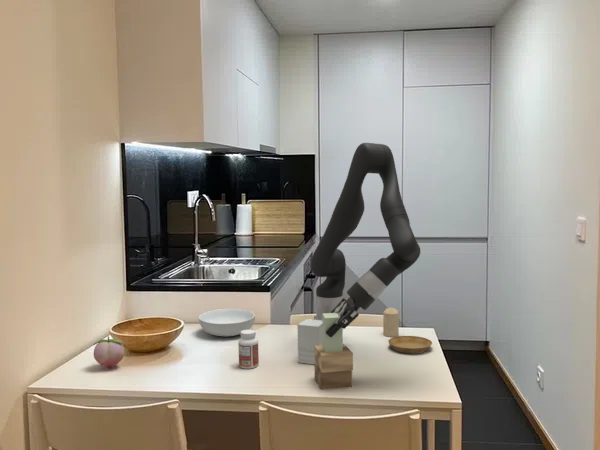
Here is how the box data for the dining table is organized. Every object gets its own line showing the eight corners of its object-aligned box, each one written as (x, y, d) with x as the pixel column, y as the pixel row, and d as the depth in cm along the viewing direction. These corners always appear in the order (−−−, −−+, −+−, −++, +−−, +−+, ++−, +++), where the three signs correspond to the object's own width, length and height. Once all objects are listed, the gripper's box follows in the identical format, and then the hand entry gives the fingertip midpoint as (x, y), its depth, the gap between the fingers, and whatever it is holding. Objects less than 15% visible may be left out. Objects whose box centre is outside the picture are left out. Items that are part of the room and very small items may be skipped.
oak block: (314, 362, 179) (314, 345, 179) (344, 359, 181) (344, 343, 180) (322, 372, 170) (321, 355, 170) (352, 370, 172) (352, 353, 172)
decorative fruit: (126, 362, 195) (125, 331, 194) (123, 370, 187) (122, 339, 186) (96, 364, 193) (94, 333, 192) (91, 372, 185) (90, 340, 184)
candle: (398, 337, 220) (398, 310, 219) (382, 336, 221) (382, 309, 220) (398, 333, 225) (399, 306, 224) (383, 332, 226) (383, 306, 225)
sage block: (322, 346, 177) (322, 313, 176) (339, 346, 178) (339, 312, 177) (325, 352, 172) (325, 318, 171) (342, 351, 173) (342, 317, 172)
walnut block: (314, 378, 180) (314, 362, 179) (344, 376, 181) (344, 360, 181) (320, 389, 171) (320, 372, 170) (351, 387, 172) (351, 370, 172)
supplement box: (327, 358, 197) (327, 320, 196) (318, 365, 190) (318, 326, 189) (306, 355, 200) (306, 318, 199) (297, 362, 193) (296, 323, 192)
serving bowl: (187, 335, 224) (186, 317, 223) (225, 323, 241) (224, 306, 241) (229, 345, 212) (229, 325, 212) (266, 331, 229) (266, 313, 229)
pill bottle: (254, 361, 195) (253, 327, 194) (261, 367, 189) (261, 332, 188) (236, 364, 192) (235, 330, 191) (242, 370, 187) (242, 335, 185)
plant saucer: (379, 350, 206) (379, 342, 206) (402, 340, 218) (402, 332, 217) (418, 358, 197) (418, 351, 197) (439, 348, 208) (439, 340, 208)
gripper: (352, 276, 181) (313, 316, 181) (363, 286, 167) (320, 330, 167) (369, 293, 182) (330, 333, 182) (382, 304, 168) (339, 348, 168)
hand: (326, 331), depth 174 cm, fingers open, 6 cm apart
